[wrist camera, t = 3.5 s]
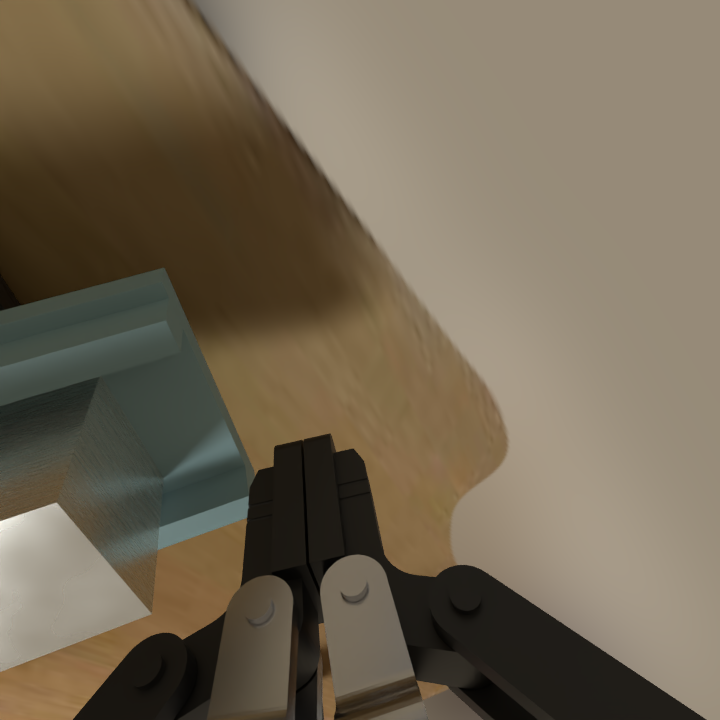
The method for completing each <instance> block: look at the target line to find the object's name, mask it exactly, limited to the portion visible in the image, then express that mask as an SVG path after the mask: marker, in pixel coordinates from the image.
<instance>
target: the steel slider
mask: <svg viewBox="0 0 720 720" xmlns="http://www.w3.org/2000/svg"><path fill="white" fill-rule="evenodd" d="M163 482H164V477H163V476H162V474H161V473H160V471H159V469H158V468H157V466H156V464H155V463H154V461H153V460H152V458H151V456H150V455H149V453H148V451H147V450H146V448H145V447H144V445H143V443H142V442H141V440H140V438H139V437H138V435H137V434H136V432H135V430H134V429H133V427H132V425H131V424H130V422H129V421H128V419H127V417H126V416H125V414H124V412H123V411H122V409H121V408H120V406H119V404H118V403H117V401H116V399H115V398H114V396H113V395H112V393H111V391H110V390H109V388H108V386H107V385H106V383H105V382H104V380H103V378H102V377H101V376H100V377H96V378H93V379H90V380H86V381H83V382H79V383H76V384H73V385H69V386H66V387H63V388H59V389H56V390H52V391H49V392H46V393H42V394H39V395H35V396H32V397H29V398H25V399H22V400H19V401H15V402H12V403H8V404H5V405H2V406H0V672H1V671H4V670H6V669H9V668H12V667H14V666H17V665H19V664H22V663H25V662H27V661H30V660H33V659H35V658H38V657H40V656H43V655H46V654H48V653H51V652H54V651H56V650H59V649H61V648H64V647H67V646H69V645H72V644H75V643H77V642H80V641H82V640H85V639H88V638H90V637H93V636H95V635H98V634H101V633H103V632H106V631H109V630H111V629H114V628H116V627H119V626H122V625H124V624H127V623H130V622H132V621H135V620H137V619H140V618H143V617H145V616H148V615H150V614H152V607H153V595H154V584H155V573H156V561H157V550H158V539H159V527H160V516H161V505H162V493H163Z"/></svg>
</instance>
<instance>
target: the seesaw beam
mask: <svg viewBox="0 0 720 720" xmlns="http://www.w3.org/2000/svg"><path fill="white" fill-rule="evenodd" d="M100 376H101V377H102V378H103V380H104V382H105V383H106V385H107V386H108V388H109V390H110V391H111V393H112V395H113V396H114V398H115V399H116V401H117V403H118V404H119V406H120V408H121V409H122V411H123V412H124V414H125V416H126V417H127V419H128V421H129V422H130V424H131V425H132V427H133V429H134V430H135V432H136V434H137V435H138V437H139V438H140V440H141V442H142V443H143V445H144V447H145V448H146V450H147V451H148V453H149V455H150V456H151V458H152V460H153V461H154V463H155V464H156V466H157V468H158V469H159V471H160V473H161V474H162V476H163V477H164V482H163V493H162V505H161V516H160V527H159V539H158V550H159V549H162V548H165V547H167V546H170V545H173V544H176V543H178V542H181V541H184V540H187V539H189V538H192V537H195V536H198V535H201V534H203V533H206V532H209V531H212V530H214V529H217V528H220V527H223V526H226V525H228V524H231V523H234V522H237V521H239V520H242V519H245V518H247V513H248V509H249V506H248V501H249V489H250V486H251V484H252V482H253V480H254V478H255V474H254V469H253V467H252V465H251V463H250V460H249V458H248V456H247V454H246V451H245V449H244V447H243V444H242V442H241V440H240V438H239V435H238V433H237V431H236V429H235V426H234V424H233V422H232V420H231V417H230V415H229V413H228V410H227V408H226V406H225V404H224V401H223V399H222V397H221V395H220V392H219V390H218V388H217V386H216V383H215V381H214V379H213V377H212V374H211V372H210V370H209V367H208V365H207V363H206V361H205V358H204V356H203V354H202V352H201V349H200V347H199V345H198V343H197V340H196V338H195V336H194V333H193V331H192V329H191V327H190V324H189V322H188V320H187V318H186V315H185V313H184V311H183V309H182V306H181V304H180V302H179V299H178V297H177V295H176V293H175V290H174V288H173V286H172V284H171V281H170V279H169V277H168V275H167V272H166V270H165V268H161V269H157V270H153V271H149V272H146V273H142V274H138V275H134V276H131V277H127V278H123V279H119V280H116V281H112V282H108V283H104V284H100V285H97V286H93V287H89V288H85V289H82V290H78V291H74V292H70V293H66V294H63V295H59V296H55V297H51V298H48V299H44V300H40V301H36V302H32V303H29V304H25V305H21V306H17V307H14V308H10V309H6V310H2V311H0V406H2V405H5V404H8V403H12V402H15V401H19V400H22V399H25V398H29V397H32V396H35V395H39V394H42V393H46V392H49V391H52V390H56V389H59V388H63V387H66V386H69V385H73V384H76V383H79V382H83V381H86V380H90V379H93V378H96V377H100Z"/></svg>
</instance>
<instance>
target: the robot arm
mask: <svg viewBox="0 0 720 720" xmlns="http://www.w3.org/2000/svg"><path fill="white" fill-rule="evenodd" d="M248 506H249V509H248V513H247V525H246V537H245V549H244V562H243V574H242V582H241V586H240V589H239V590H238V591H237V592H236V593H235V594H234V596H233V597H232V599H231V601H230V602H229V605H228V607H227V611H226V612H225V613H224V614H223V615H222V616H220V617H219V618H218V619H217V620H215V621H214V622H212V623H211V624H209V625H207V626H206V627H204V628H202V629H200V630H199V631H197V632H195V633H194V634H192V635H190V636H188V637H187V638H185V639H183V640H182V639H180V638H179V637H178V636H177V635H175V634H171V633H159V634H156V635H153V636H150V637H148V638H146V639H145V640H143V641H142V642H140V643H139V644H138V645H137V646H135V647H134V648H133V649H132V650H131V651H130V652H129V653H128V654H127V656H126V657H125V658H124V659H123V660H122V662H121V663H120V664H119V665H118V666H117V668H116V669H115V670H114V671H113V672H112V674H111V675H110V676H109V677H108V678H107V680H106V681H105V682H104V683H103V684H102V685H101V687H100V688H99V689H98V690H97V691H96V693H95V694H94V695H93V696H92V697H91V699H90V700H89V701H88V702H87V703H86V705H85V706H84V707H83V708H82V709H81V710H80V712H79V713H78V714H77V715H76V716H75V718H74V719H73V720H322V669H323V663H322V656H321V652H320V641H319V625H318V624H320V623H324V625H325V631H326V638H327V645H328V652H329V659H330V666H331V673H332V679H333V686H334V693H335V701H336V712H335V715H334V720H428V717H427V714H426V710H425V707H424V703H423V700H422V697H421V693H420V690H419V687H418V684H417V681H416V680H418V681H424V682H430V683H436V684H441V685H447V686H448V687H449V688H450V690H452V692H454V693H455V694H456V695H457V696H458V697H459V698H460V699H461V700H462V701H464V702H465V703H466V704H467V705H468V706H469V707H470V708H471V709H472V710H473V711H475V712H476V713H477V714H478V715H479V716H480V717H481V718H482V719H483V720H706V719H704V718H703V717H701V716H700V715H699V714H697V713H695V712H694V711H693V710H691V709H689V708H688V707H687V706H685V705H684V704H682V703H681V702H679V701H677V700H676V699H675V698H673V697H672V696H670V695H668V694H667V693H666V692H664V691H662V690H661V689H660V688H658V687H657V686H655V685H654V684H652V683H651V682H649V681H647V680H646V679H645V678H643V677H642V676H640V675H638V674H637V673H636V672H634V671H633V670H631V669H630V668H628V667H627V666H625V665H623V664H622V663H621V662H619V661H618V660H616V659H615V658H613V657H612V656H610V655H608V654H607V653H606V652H604V651H602V650H601V649H600V648H598V647H597V646H595V645H593V644H592V643H591V642H589V641H588V640H586V639H585V638H583V637H582V636H580V635H579V634H577V633H576V632H574V631H573V630H571V629H570V628H568V627H567V626H565V625H564V624H562V623H561V622H559V621H557V620H556V619H555V618H553V617H552V616H550V615H549V614H547V613H546V612H544V611H543V610H541V609H540V608H538V607H537V606H535V605H534V604H532V603H531V602H529V601H528V600H526V599H525V598H523V597H522V596H520V595H519V594H517V593H516V592H514V591H513V590H511V589H510V588H508V587H507V586H505V585H504V584H502V583H501V582H499V581H498V580H496V579H495V578H493V577H492V576H490V575H489V574H487V573H486V572H484V571H482V570H481V569H479V568H476V567H473V566H468V565H457V566H453V567H449V568H447V569H445V570H444V571H442V572H441V573H439V575H438V576H437V577H428V576H419V575H412V574H408V573H405V572H403V571H401V570H399V569H397V568H396V567H394V566H393V565H392V564H391V563H390V562H389V561H388V559H387V558H386V557H385V555H384V550H383V546H382V541H381V536H380V531H379V526H378V521H377V517H376V512H375V507H374V502H373V497H372V493H371V489H370V484H369V480H368V476H367V472H366V467H365V463H364V461H363V459H362V458H361V457H360V456H359V455H358V453H357V452H356V451H355V450H354V449H349V450H345V451H340V452H336V450H335V446H334V443H333V439H332V436H331V434H325V435H321V436H317V437H312V438H308V439H304V442H303V440H299V441H295V442H291V443H286V444H282V445H277V446H275V448H274V467H270V468H266V469H261V470H259V471H258V472H257V474H256V476H255V478H254V480H253V482H252V484H251V486H250V489H249V501H248Z"/></svg>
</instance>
